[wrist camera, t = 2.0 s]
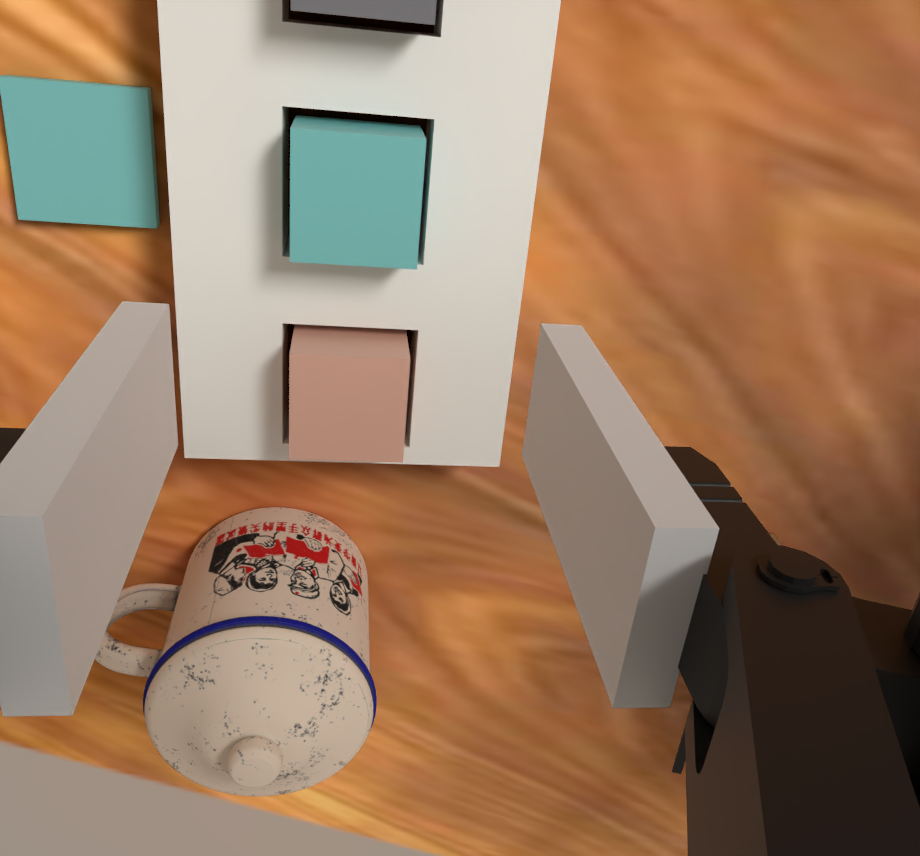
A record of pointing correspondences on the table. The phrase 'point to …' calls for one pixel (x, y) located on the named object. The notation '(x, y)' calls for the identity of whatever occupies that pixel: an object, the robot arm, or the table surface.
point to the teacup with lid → (257, 655)
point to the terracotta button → (348, 393)
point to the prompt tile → (81, 151)
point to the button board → (342, 286)
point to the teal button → (355, 192)
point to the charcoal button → (373, 9)
